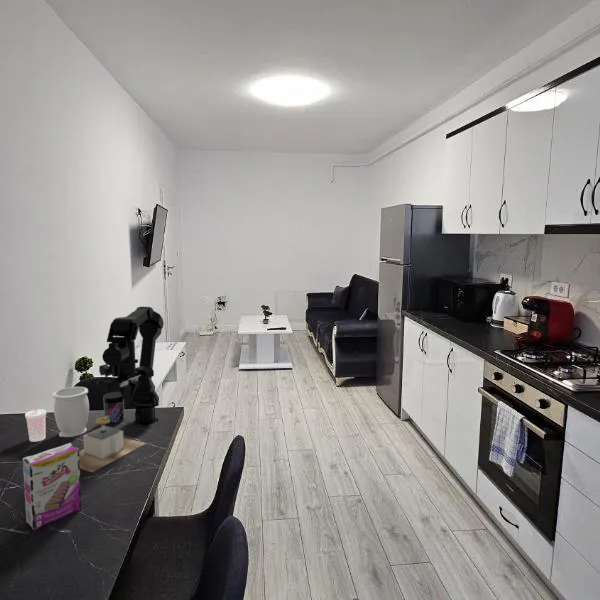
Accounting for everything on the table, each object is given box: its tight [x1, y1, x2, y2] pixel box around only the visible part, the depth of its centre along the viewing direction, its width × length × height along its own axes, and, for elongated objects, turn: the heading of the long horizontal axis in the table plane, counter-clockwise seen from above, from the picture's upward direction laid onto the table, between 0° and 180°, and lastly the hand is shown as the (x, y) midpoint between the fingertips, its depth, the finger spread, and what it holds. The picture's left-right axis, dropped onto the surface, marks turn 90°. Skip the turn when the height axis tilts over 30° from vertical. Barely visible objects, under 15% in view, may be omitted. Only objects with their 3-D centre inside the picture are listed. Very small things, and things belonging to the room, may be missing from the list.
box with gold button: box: [82, 425, 124, 460], centre depth 138 cm, size 8×10×7 cm
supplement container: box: [102, 391, 125, 425], centre depth 162 cm, size 7×7×10 cm
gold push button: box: [95, 415, 110, 433], centre depth 138 cm, size 5×5×7 cm
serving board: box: [79, 436, 146, 473], centre depth 139 cm, size 20×14×1 cm
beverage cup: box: [24, 397, 47, 443], centre depth 148 cm, size 6×6×14 cm
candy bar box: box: [22, 442, 82, 531], centre depth 108 cm, size 11×5×16 cm, turn 141°
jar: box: [52, 386, 90, 438], centre depth 152 cm, size 11×10×15 cm
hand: (127, 403), depth 146 cm, fingers closed
